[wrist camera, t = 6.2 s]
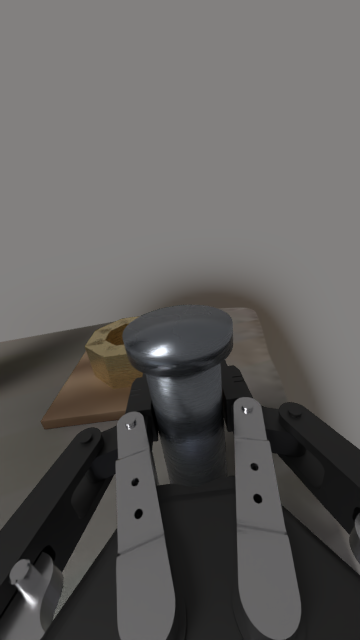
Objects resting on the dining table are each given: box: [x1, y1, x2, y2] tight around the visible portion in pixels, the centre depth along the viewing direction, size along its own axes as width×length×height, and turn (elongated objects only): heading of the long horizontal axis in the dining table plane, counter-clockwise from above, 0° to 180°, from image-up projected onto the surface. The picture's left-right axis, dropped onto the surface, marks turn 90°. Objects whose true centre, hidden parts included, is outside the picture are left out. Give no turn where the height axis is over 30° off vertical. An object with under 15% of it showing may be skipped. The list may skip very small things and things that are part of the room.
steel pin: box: [122, 305, 233, 487], centre depth 12 cm, size 5×5×12 cm
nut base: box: [41, 316, 143, 429], centre depth 27 cm, size 16×16×5 cm
